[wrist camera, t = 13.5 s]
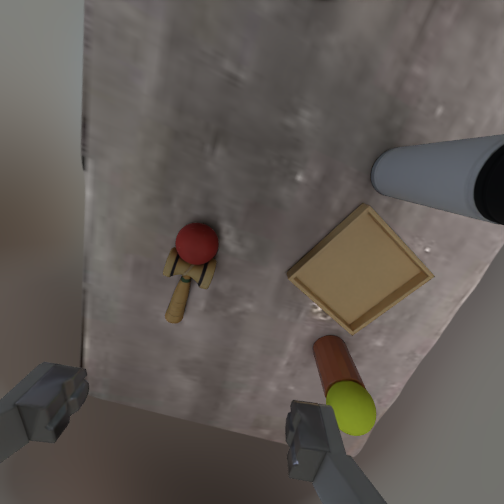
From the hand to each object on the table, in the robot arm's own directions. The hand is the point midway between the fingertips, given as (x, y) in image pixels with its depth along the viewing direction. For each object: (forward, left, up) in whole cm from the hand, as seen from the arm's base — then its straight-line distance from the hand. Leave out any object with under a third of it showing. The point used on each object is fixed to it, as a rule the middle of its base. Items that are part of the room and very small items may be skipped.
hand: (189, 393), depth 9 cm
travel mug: (-19, +10, -28) cm, 35 cm away
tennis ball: (+7, +27, -17) cm, 32 cm away
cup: (+7, +27, -28) cm, 39 cm away
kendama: (+12, -1, -28) cm, 30 cm away
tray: (-6, +18, -28) cm, 34 cm away
